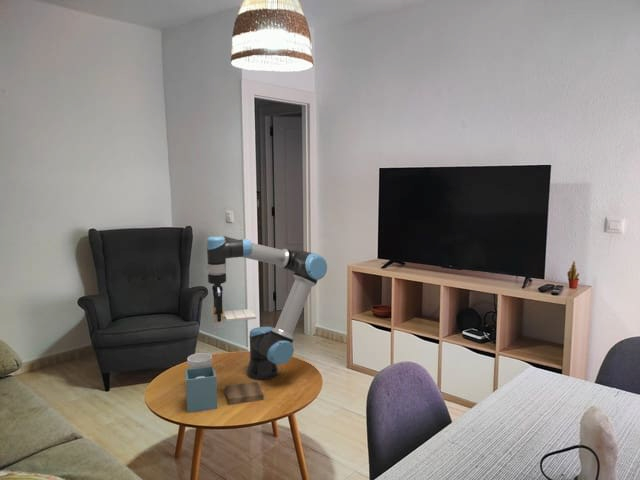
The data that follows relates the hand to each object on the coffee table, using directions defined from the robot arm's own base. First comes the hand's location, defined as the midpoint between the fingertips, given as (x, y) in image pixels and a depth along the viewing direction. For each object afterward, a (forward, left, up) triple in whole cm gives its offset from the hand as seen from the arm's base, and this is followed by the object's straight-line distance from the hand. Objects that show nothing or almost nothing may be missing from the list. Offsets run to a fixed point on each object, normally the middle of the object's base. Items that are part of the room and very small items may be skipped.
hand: (218, 326), depth 212 cm
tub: (+8, +3, -32) cm, 34 cm away
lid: (-7, 0, +2) cm, 7 cm away
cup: (+8, -15, -33) cm, 37 cm away
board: (-10, 0, -32) cm, 34 cm away
